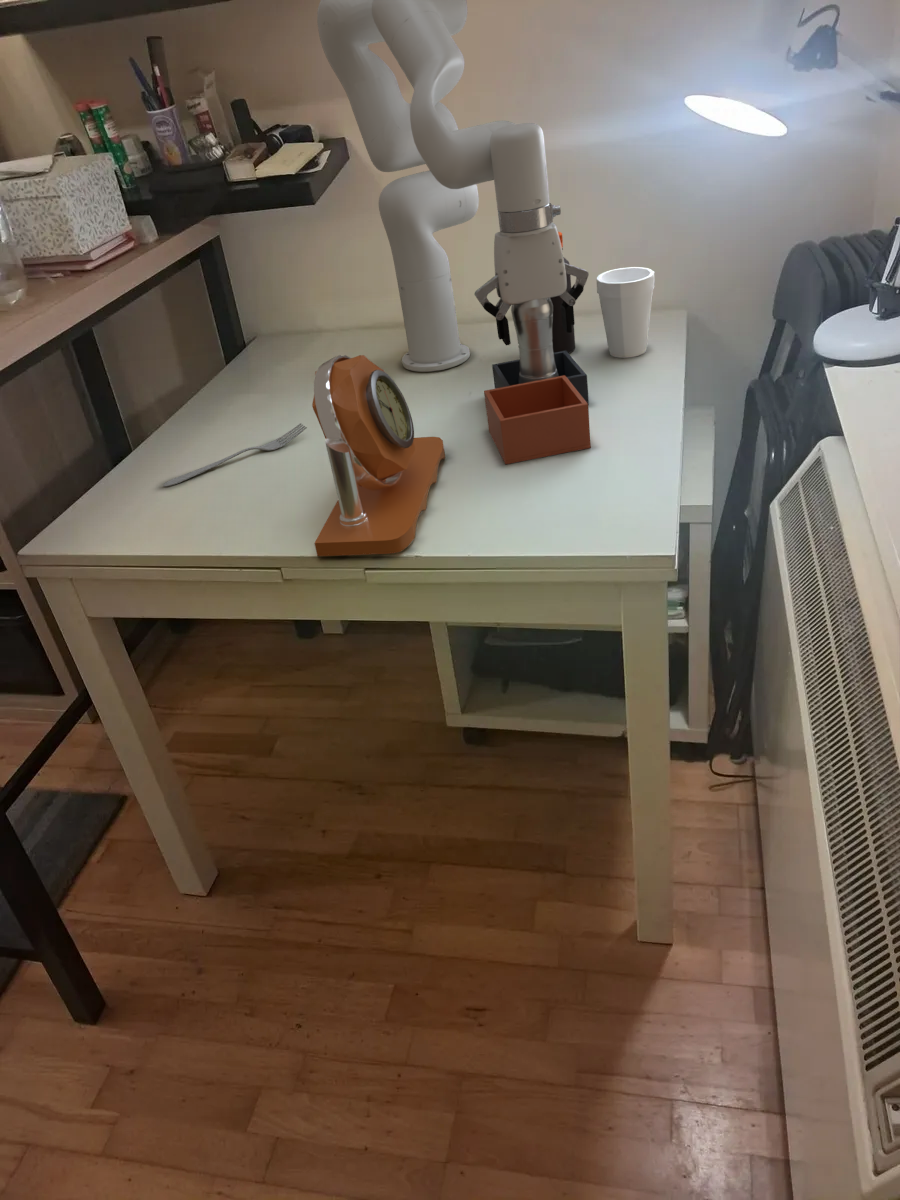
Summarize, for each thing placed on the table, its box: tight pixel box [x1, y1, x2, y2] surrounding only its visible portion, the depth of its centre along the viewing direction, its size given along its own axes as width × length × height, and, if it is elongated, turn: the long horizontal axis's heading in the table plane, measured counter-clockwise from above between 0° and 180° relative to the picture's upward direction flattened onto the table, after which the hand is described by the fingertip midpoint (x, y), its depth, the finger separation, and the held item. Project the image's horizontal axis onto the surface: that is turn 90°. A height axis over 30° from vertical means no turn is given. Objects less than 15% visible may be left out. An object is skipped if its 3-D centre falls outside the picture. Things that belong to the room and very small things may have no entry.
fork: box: [162, 422, 308, 488], centre depth 146 cm, size 3×24×2 cm, turn 122°
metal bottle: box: [510, 298, 559, 384], centre depth 145 cm, size 6×7×20 cm
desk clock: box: [311, 354, 446, 557], centre depth 122 cm, size 12×30×20 cm, turn 171°
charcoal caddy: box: [491, 351, 590, 407], centre depth 149 cm, size 12×12×5 cm
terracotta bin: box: [483, 375, 592, 465], centre depth 136 cm, size 12×12×7 cm
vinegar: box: [550, 231, 576, 355], centre depth 163 cm, size 7×7×20 cm
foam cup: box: [595, 266, 656, 359], centre depth 159 cm, size 10×9×13 cm
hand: (536, 336), depth 144 cm, fingers open, 9 cm apart
